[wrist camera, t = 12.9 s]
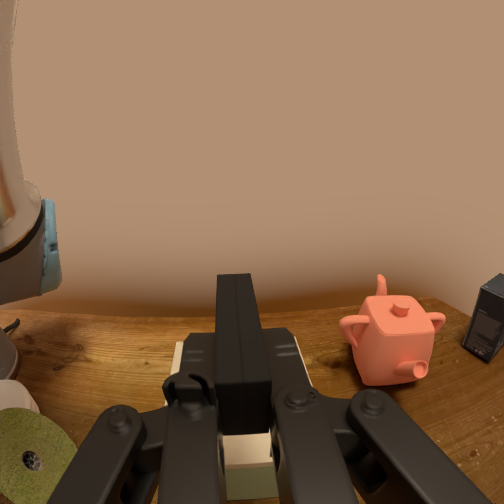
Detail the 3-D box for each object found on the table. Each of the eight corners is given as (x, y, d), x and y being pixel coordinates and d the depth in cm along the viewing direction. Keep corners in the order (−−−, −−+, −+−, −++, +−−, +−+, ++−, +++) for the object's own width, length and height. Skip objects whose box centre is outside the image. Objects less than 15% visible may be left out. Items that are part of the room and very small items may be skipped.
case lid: (177, 347, 26) (176, 341, 26) (294, 342, 27) (295, 336, 27) (158, 466, 14) (155, 462, 14) (332, 456, 15) (334, 451, 14)
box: (490, 363, 27) (513, 300, 24) (460, 346, 33) (478, 285, 30) (510, 338, 31) (527, 282, 28) (484, 324, 37) (498, 271, 34)
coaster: (30, 386, 25) (19, 367, 24) (53, 436, 20) (38, 417, 18) (-20, 410, 18) (-33, 392, 17) (-5, 464, 12) (-23, 447, 11)
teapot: (441, 368, 30) (467, 306, 26) (399, 419, 24) (433, 353, 20) (368, 327, 41) (380, 269, 38) (315, 360, 35) (325, 294, 31)
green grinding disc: (93, 516, 14) (98, 517, 13) (-10, 502, 7) (-12, 503, 6) (73, 421, 21) (76, 417, 21) (-20, 399, 14) (-22, 394, 13)
